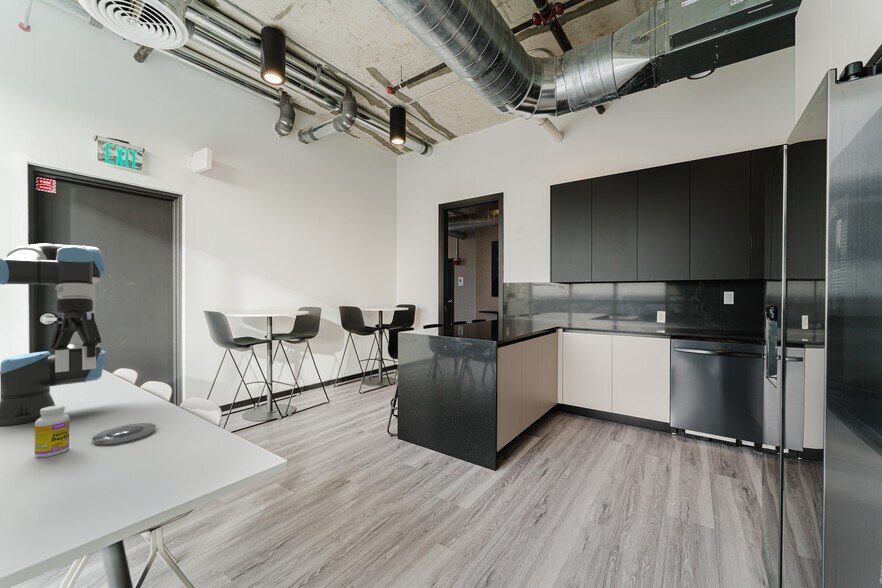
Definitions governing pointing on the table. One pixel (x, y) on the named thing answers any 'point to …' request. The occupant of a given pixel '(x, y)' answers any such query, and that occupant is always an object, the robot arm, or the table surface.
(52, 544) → the table surface
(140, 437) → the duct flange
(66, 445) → the supplement bottle
